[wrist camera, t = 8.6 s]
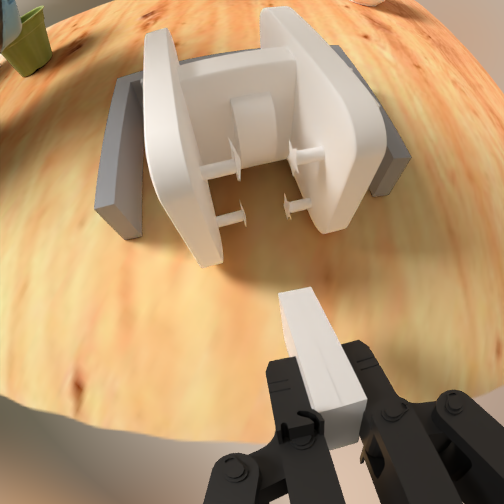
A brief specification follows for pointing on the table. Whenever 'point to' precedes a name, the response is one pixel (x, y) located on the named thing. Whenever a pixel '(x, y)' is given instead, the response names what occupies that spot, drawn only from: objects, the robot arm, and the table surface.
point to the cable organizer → (258, 127)
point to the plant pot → (29, 44)
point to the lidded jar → (368, 2)
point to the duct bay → (132, 149)
